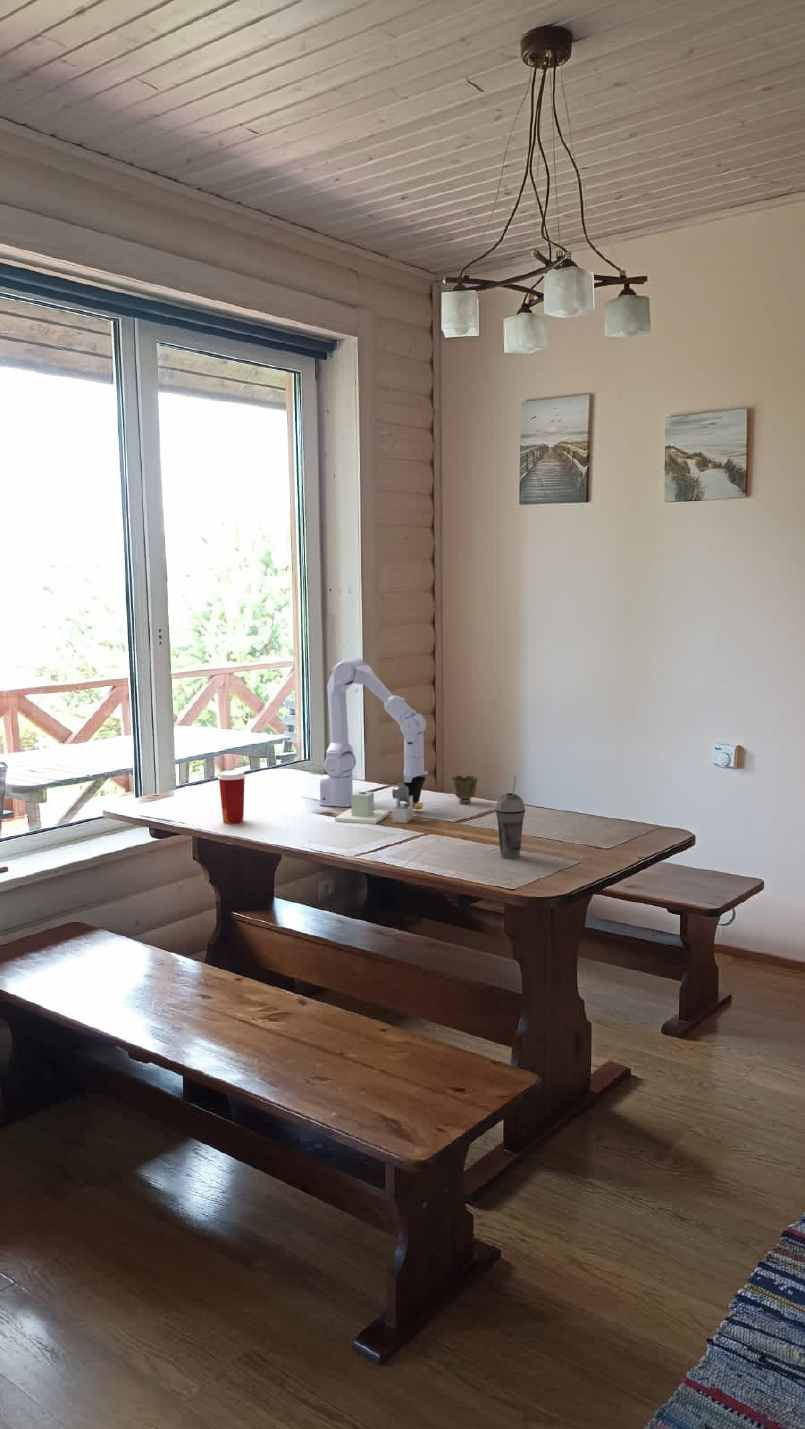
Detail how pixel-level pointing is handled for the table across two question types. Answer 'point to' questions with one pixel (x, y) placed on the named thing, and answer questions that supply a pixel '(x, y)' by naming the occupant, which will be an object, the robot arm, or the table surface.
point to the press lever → (405, 796)
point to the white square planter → (403, 811)
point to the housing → (362, 803)
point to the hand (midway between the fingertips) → (414, 802)
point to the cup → (464, 788)
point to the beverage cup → (510, 823)
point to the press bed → (371, 819)
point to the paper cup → (232, 796)
